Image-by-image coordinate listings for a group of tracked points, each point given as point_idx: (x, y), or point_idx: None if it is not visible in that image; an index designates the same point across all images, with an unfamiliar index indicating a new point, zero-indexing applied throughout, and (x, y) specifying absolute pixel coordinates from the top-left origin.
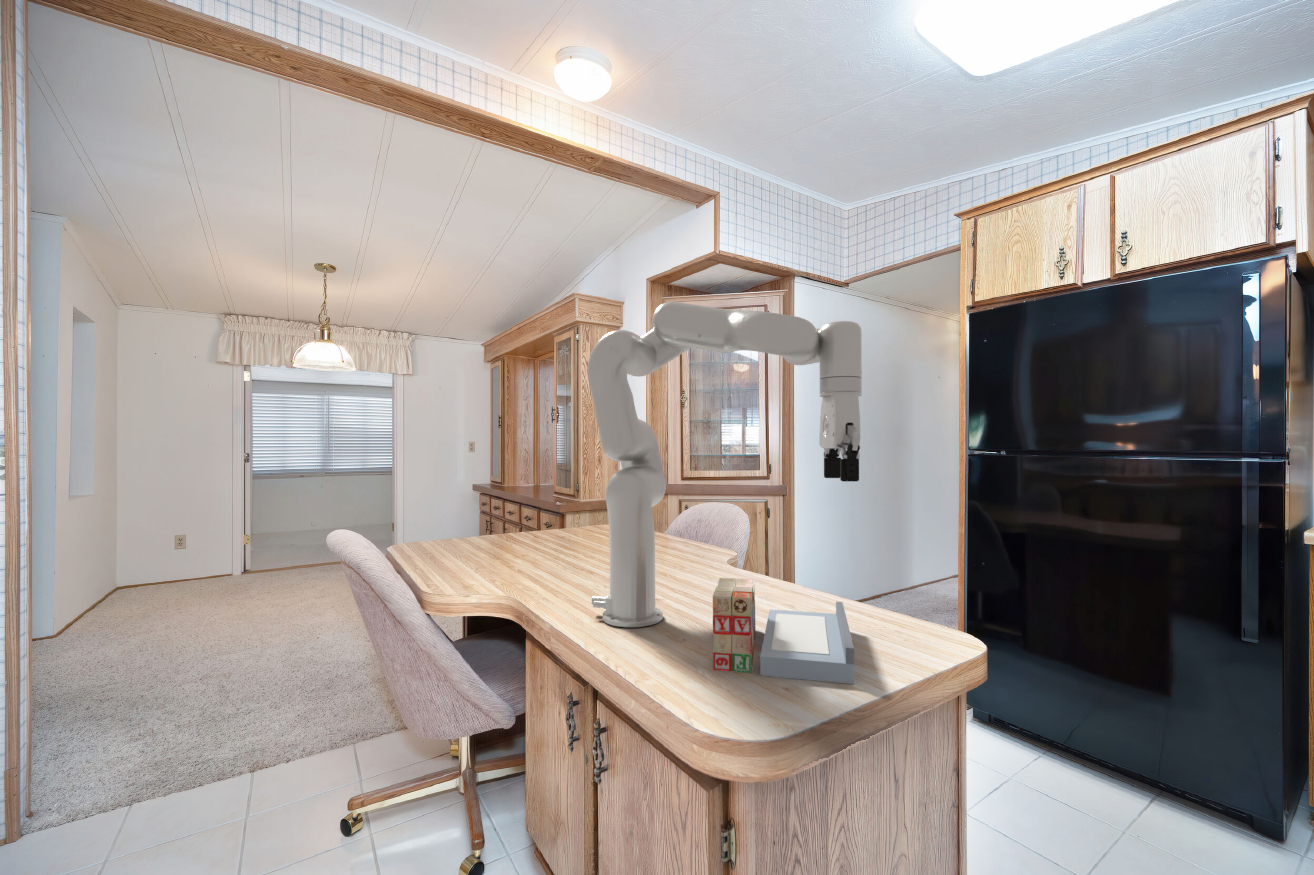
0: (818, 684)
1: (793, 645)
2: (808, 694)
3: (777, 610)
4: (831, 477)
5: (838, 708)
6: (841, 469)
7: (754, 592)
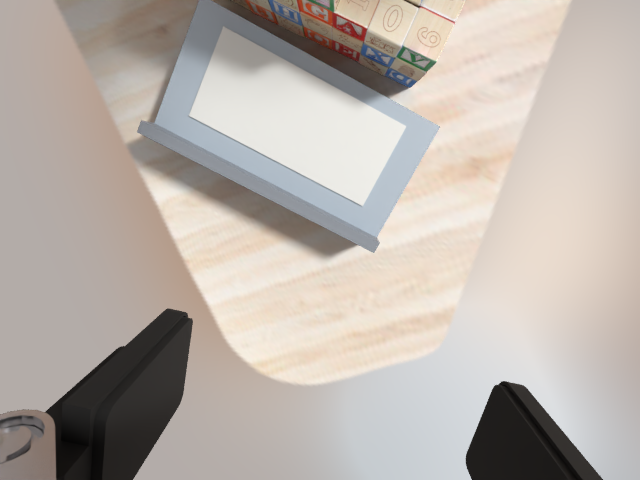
0: None
1: (234, 75)
2: (142, 54)
3: (428, 139)
4: (484, 413)
5: (99, 74)
6: (128, 346)
7: (382, 41)
